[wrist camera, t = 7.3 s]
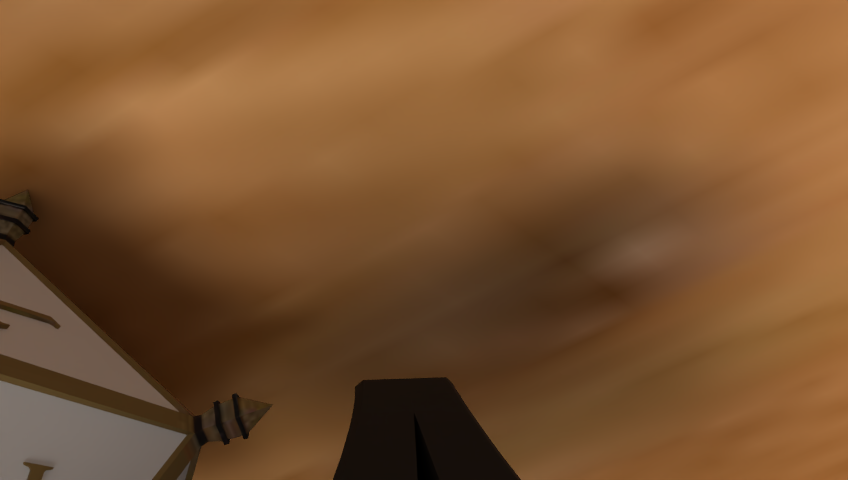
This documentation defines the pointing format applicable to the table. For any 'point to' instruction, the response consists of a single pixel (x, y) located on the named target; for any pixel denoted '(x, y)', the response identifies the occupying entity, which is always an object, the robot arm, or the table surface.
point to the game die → (86, 388)
